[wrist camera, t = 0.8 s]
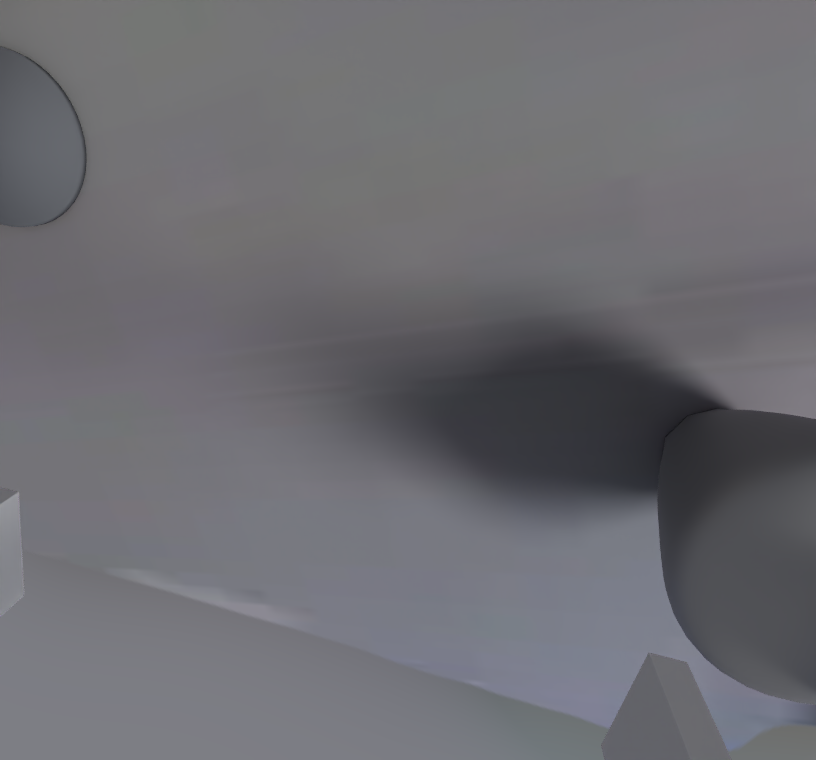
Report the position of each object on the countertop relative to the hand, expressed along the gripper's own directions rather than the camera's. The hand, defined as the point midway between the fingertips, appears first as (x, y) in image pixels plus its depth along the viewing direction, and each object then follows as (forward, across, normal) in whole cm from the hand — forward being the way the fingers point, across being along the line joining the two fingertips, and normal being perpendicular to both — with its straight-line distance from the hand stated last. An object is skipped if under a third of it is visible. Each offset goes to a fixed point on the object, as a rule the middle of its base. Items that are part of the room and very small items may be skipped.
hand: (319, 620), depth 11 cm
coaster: (+27, -30, +5) cm, 41 cm away
